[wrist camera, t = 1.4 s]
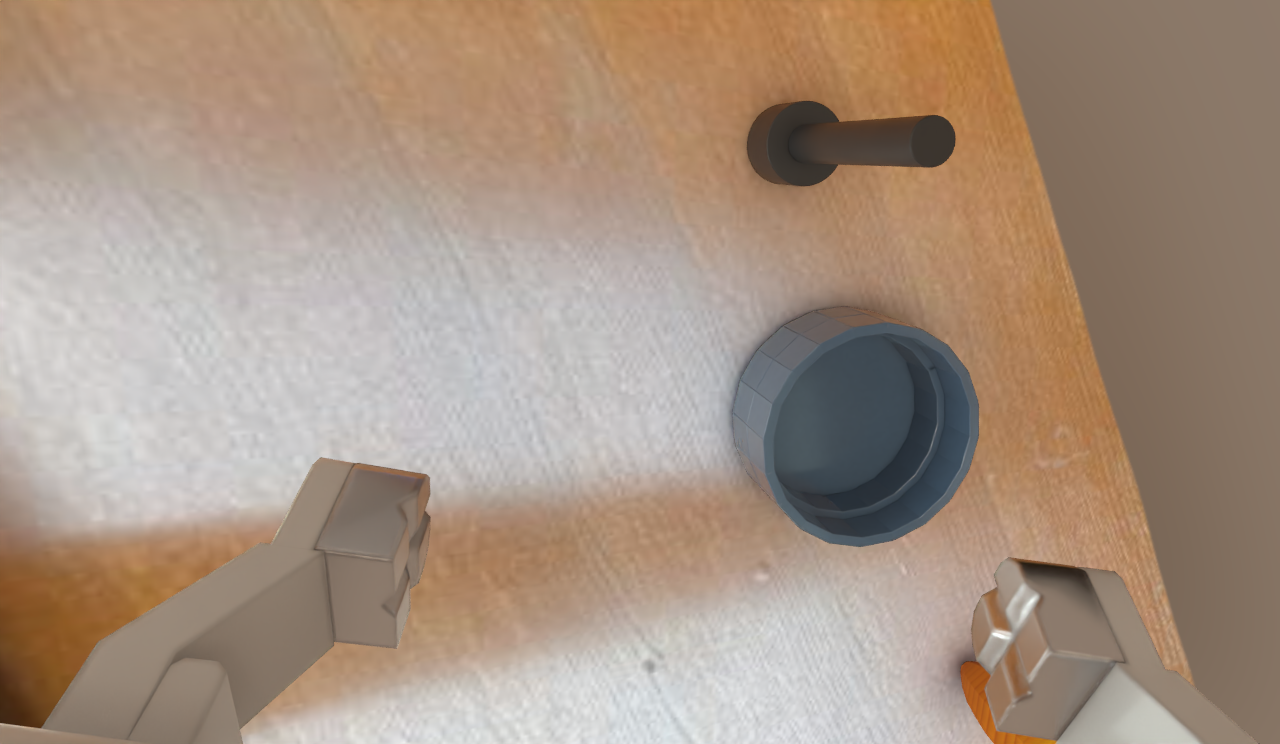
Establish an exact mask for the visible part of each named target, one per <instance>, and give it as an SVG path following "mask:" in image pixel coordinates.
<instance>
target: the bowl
mask: <svg viewBox="0 0 1280 744" xmlns="http://www.w3.org/2000/svg"><path fill="white" fill-rule="evenodd" d="M732 415H733V429H734V442H735V446H736V449H737V451H738V453H739V456H740V458H741V460H742V463H743V465H744V467H745V470H746V472H747V473H748V475H749V476H750V477H751V478H752V479H753V480H754V481H755V482H756V483H757V484H758V485H759V486H760V488H761V489H762V490H763V491H764V492H765V493H766V494H767V495H768V496H769V497H770V498H771V499H772V500H773V501H774V502H775V503H776V504H777V505H778V507H779V508H780V509H781V510H782V511H783V512H784V513H785V514H786V515H787V516H788V517H789V518H790V519H791V520H792V521H793V522H794V523H795V524H796V525H797V526H798V527H799V528H800V529H801V530H803V531H805V532H807V533H809V534H811V535H813V536H815V537H817V538H819V539H821V540H823V541H825V542H827V543H831V544H839V545H848V546H856V547H863V546H869V545H874V544H879V543H884V542H889V541H893V540H896V539H898V538H900V537H902V536H904V535H905V534H907V533H909V532H911V531H913V530H915V529H917V528H919V527H921V526H923V525H924V524H926V523H927V522H928V521H929V520H930V519H931V518H932V517H933V516H934V515H935V514H936V513H938V512H939V511H940V510H941V509H942V508H943V507H944V506H945V505H946V504H947V503H948V502H949V501H950V500H951V498H952V497H953V495H954V494H955V492H956V490H957V489H958V487H959V486H960V484H961V482H962V481H963V479H964V478H965V476H966V474H967V473H968V470H969V468H970V465H971V462H972V458H973V455H974V451H975V448H976V445H977V441H978V436H979V403H978V399H977V396H976V393H975V390H974V387H973V384H972V381H971V378H970V375H969V372H968V370H967V369H966V368H965V366H964V365H963V364H962V362H961V361H960V360H959V358H958V357H957V356H956V355H955V353H954V352H953V351H952V349H951V348H950V347H949V346H948V345H947V344H945V343H944V342H942V341H940V340H939V339H937V338H935V337H934V336H932V335H931V334H929V333H927V332H926V331H924V330H922V329H920V328H917V327H915V326H912V325H909V324H907V323H904V322H901V321H898V320H896V319H893V318H890V317H888V316H885V315H882V314H879V313H877V312H873V311H868V310H863V309H858V308H853V307H848V306H843V307H836V308H829V309H822V310H815V311H812V312H810V313H808V314H806V315H804V316H802V317H800V318H798V319H796V320H794V321H792V322H789V323H787V324H785V325H784V327H783V326H782V327H781V328H780V329H779V330H778V331H777V332H776V333H775V334H774V335H773V336H771V337H770V338H769V339H768V340H767V341H766V342H765V343H764V344H763V345H762V346H761V347H760V348H759V349H758V350H757V351H756V353H755V355H754V356H753V358H752V360H751V361H750V363H749V365H748V367H747V368H746V370H745V372H744V373H743V375H742V377H741V380H740V382H739V386H738V391H737V395H736V399H735V403H734V407H733V413H732Z"/></svg>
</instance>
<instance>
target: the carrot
mask: <svg viewBox="0 0 1280 744" xmlns="http://www.w3.org/2000/svg"><path fill="white" fill-rule="evenodd" d="M960 674H961V681H962V688H963V691H964V694H965V697H966V700H967V703H968V705H969V706H970V708H971V710H972V712H973V714H974V715H975V717H976V719H977V720H978V722H979V723H980V725H981V727H982V728H983V730H984V731H985V733H986V734H987V736H988V737H989V738H990V739H991V740H992V742H993V743H994V744H1055V743H1056V742H1057V741H1054V740H1048V739H1042V738H1036V737H1030V736H1024V735H1018V734H1011V733H1005V732H999V731H996V728H995V725H994V721H993V718H992V714H991V711H990V707H989V704H988V700H987V697H986V693H985V690H984V688H985V686H986V684H987V682H988V681H989V679H990V677H991V675H990V674H989V673H988V672H987V671H986V670H985V669H984V668H983V667H982V666H981V665H980V664H979V663H978V662H975V661H967V662H965V663H964V664H963V665H962V666H961V671H960Z"/></svg>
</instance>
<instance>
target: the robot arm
mask: <svg viewBox="0 0 1280 744" xmlns="http://www.w3.org/2000/svg"><path fill="white" fill-rule="evenodd" d="M429 497H430V477H429V476H428V475H427V474H421V473H415V472H409V471H403V470H397V469H391V468H385V467H379V466H373V465H367V464H361V463H351V462H345V461H339V460H333V459H327V458H319V459H318V460H317V461H316V462H315V463H314V464H313V465H312V467H311V469H310V470H309V472H308V474H307V476H306V478H305V480H304V482H303V484H302V486H301V488H300V489H299V491H298V493H297V495H296V497H295V499H294V501H293V503H292V505H291V507H290V508H289V510H288V512H287V514H286V516H285V518H284V520H283V522H282V524H281V526H280V527H279V529H278V531H277V533H276V535H275V537H274V539H273V541H272V543H271V544H267V543H259V544H257V545H255V546H254V547H252V548H250V549H249V550H247V551H246V552H244V553H242V554H241V555H239V556H237V557H236V558H234V559H233V560H231V561H229V562H228V563H226V564H224V565H223V566H221V567H219V568H218V569H216V570H215V571H213V572H211V573H210V574H208V575H206V576H205V577H203V578H202V579H200V580H198V581H197V582H195V583H193V584H192V585H190V586H188V587H187V588H185V589H184V590H182V591H180V592H179V593H177V594H175V595H174V596H172V597H171V598H169V599H167V600H166V601H164V602H162V603H161V604H159V605H157V606H156V607H154V608H153V609H151V610H149V611H148V612H146V613H144V614H143V615H141V616H140V617H138V618H136V619H135V620H133V621H131V622H130V623H128V624H126V625H125V626H123V627H122V628H120V629H118V630H117V631H115V632H113V633H112V634H110V635H109V636H107V637H105V638H104V639H102V640H100V641H99V642H98V643H97V644H96V646H95V647H94V649H93V650H92V652H91V653H90V655H89V656H88V658H87V660H86V661H85V663H84V664H83V666H82V667H81V669H80V670H79V672H78V673H77V675H76V676H75V678H74V679H73V681H72V682H71V684H70V685H69V687H68V688H67V690H66V691H65V693H64V695H63V696H62V698H61V699H60V701H59V702H58V704H57V705H56V707H55V708H54V710H53V711H52V713H51V714H50V716H49V717H48V719H47V720H46V722H45V723H44V725H43V726H42V728H41V729H40V728H32V727H25V726H17V725H10V724H2V723H0V744H243V741H242V737H241V733H240V729H241V728H242V727H243V726H244V725H245V724H247V723H248V722H249V721H250V720H251V719H252V718H253V717H254V716H255V715H257V714H258V713H259V712H260V711H261V710H262V709H263V708H264V707H266V706H267V705H268V704H269V703H270V702H271V701H272V700H273V699H275V698H276V697H277V696H278V695H279V694H280V693H281V692H282V691H284V690H285V689H286V688H287V687H288V686H289V685H290V684H291V683H292V682H294V681H295V680H296V679H297V678H298V677H299V676H300V675H301V674H303V673H304V672H305V671H306V670H307V669H308V668H309V667H310V666H312V665H313V664H314V663H315V662H316V661H317V660H318V659H319V658H321V657H322V656H323V655H324V654H325V653H326V652H327V651H328V650H329V649H331V648H332V647H333V646H334V642H341V643H350V644H359V645H368V646H377V647H386V648H395V649H397V647H398V644H399V641H400V638H401V635H402V632H403V629H404V626H405V623H406V620H407V617H408V614H409V611H410V589H411V588H412V587H414V586H415V585H416V584H418V583H419V581H420V578H421V575H422V572H423V568H424V565H425V560H426V556H427V551H428V546H429V538H430V516H429V515H428V514H427V512H426V511H425V508H426V506H427V503H428V500H429ZM994 578H995V581H996V584H997V587H996V588H995V589H993V590H991V591H989V592H987V593H985V594H984V595H982V596H981V598H980V600H979V602H978V604H977V606H976V608H975V610H974V615H973V621H972V628H971V634H972V645H973V649H974V653H975V657H976V661H977V662H978V663H979V664H980V665H981V666H982V667H983V668H984V669H985V670H986V671H987V672H988V673H989V674H990V675H991V677H990V679H989V681H988V682H987V684H986V686H985V688H984V690H985V693H986V697H987V700H988V704H989V707H990V711H991V714H992V718H993V721H994V725H995V728H996V731H999V732H1005V733H1011V734H1018V735H1024V736H1030V737H1036V738H1042V739H1048V740H1054V741H1057V742H1056V743H1055V744H1259V743H1258V742H1256V741H1255V740H1254V739H1253V738H1252V737H1251V736H1250V735H1248V734H1247V733H1246V732H1245V731H1244V730H1243V729H1242V728H1241V727H1239V726H1238V725H1237V724H1236V723H1235V722H1234V721H1232V720H1231V719H1230V718H1229V717H1228V716H1227V715H1226V714H1225V713H1223V712H1222V711H1221V710H1220V709H1219V708H1218V707H1216V706H1215V705H1214V704H1213V703H1212V702H1211V701H1209V699H1207V698H1206V697H1205V696H1204V695H1203V694H1202V693H1200V692H1199V691H1198V690H1197V689H1196V688H1195V687H1194V686H1193V685H1191V684H1190V683H1189V682H1188V681H1187V680H1186V679H1185V678H1183V677H1182V676H1181V675H1180V674H1179V673H1178V672H1177V671H1172V670H1166V669H1165V667H1164V665H1163V663H1162V661H1161V659H1160V657H1159V655H1158V653H1157V650H1156V648H1155V646H1154V644H1153V642H1152V640H1151V638H1150V636H1149V634H1148V632H1147V629H1146V627H1145V625H1144V623H1143V621H1142V619H1141V617H1140V615H1139V613H1138V611H1137V608H1136V606H1135V604H1134V602H1133V600H1132V598H1131V596H1130V594H1129V592H1128V590H1127V588H1126V585H1125V583H1124V581H1123V579H1122V578H1121V577H1120V576H1119V575H1118V574H1117V573H1116V572H1115V571H1107V570H1100V569H1092V568H1085V567H1075V566H1070V565H1062V564H1055V563H1047V562H1040V561H1032V560H1025V559H1017V558H1010V557H1008V558H1007V559H1005V560H1004V561H1003V562H1001V563H1000V565H999V566H998V568H997V570H996V572H995V573H994Z"/></svg>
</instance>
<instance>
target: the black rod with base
mask: <svg viewBox="0 0 1280 744" xmlns="http://www.w3.org/2000/svg"><path fill="white" fill-rule="evenodd" d="M954 147H955V132H954V129H953V127H952V125H951V124H950V123H949V121H948V120H946V119H945V118H943V117H941V116H938V115H928V116H915V117H901V118H888V119H874V120H861V121H847V122H839V120H838V118H837V117H836V116H835V114H834V113H833V112H832V111H831V110H830V109H829V108H827V107H826V106H824V105H822V104H820V103H817V102H813V101H800V102H793V103H786V104H779V105H775V106H772V107H770V108H768V109H767V110H765V111H764V112H762V113H761V114H760V115H759V116H758V117H757V119H756V120H755V121H754V123H753V125H752V127H751V129H750V132H749V135H748V141H747V150H748V156H749V159H750V162H751V164H752V166H753V168H754V169H755V171H756V172H757V173H758V174H759V175H760V176H761V177H763V178H764V179H766V180H767V181H769V182H772V183H776V184H784V185H794V186H810V185H814V184H817V183H819V182H821V181H823V180H825V179H826V178H827V177H828V176H830V175H831V174H832V172H833V171H834V170H835V169H836V167H837V166H838V164H839V165H871V166H902V167H936V166H939V165H941V164H943V163H944V162H945V161H946V160H947V159H948V158H949V157H950V156H951V154H952V152H953V150H954Z"/></svg>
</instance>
